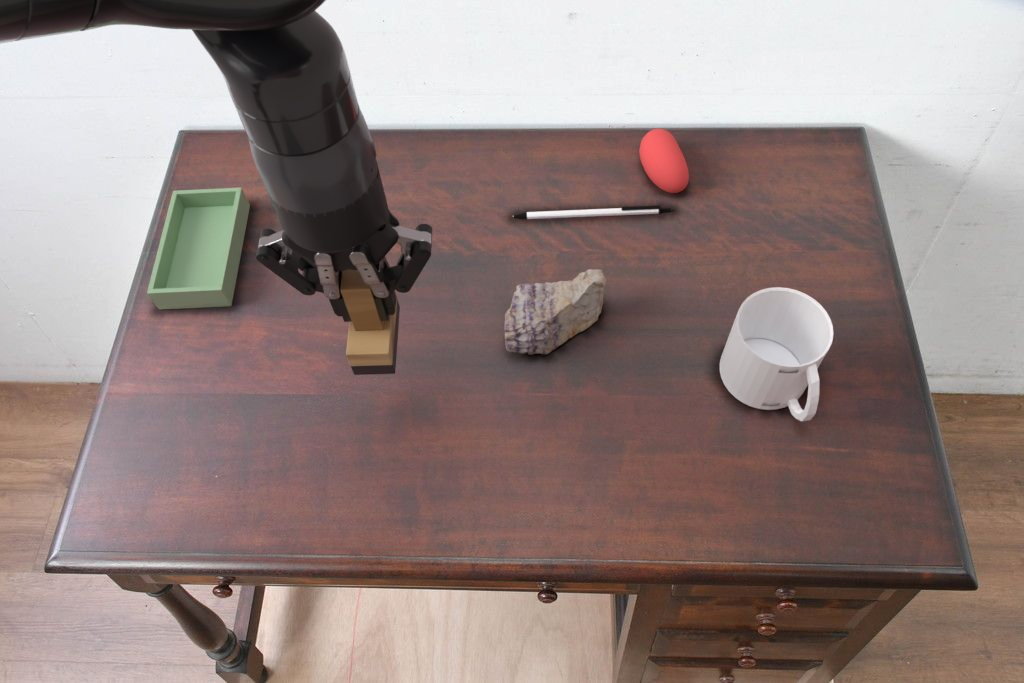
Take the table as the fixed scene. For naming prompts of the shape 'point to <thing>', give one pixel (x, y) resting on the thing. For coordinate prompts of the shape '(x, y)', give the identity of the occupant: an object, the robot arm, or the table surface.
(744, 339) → the mug
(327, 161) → the robot arm
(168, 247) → the tray
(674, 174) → the stress ball
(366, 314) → the scrub brush
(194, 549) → the table surface
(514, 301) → the mineral specimen
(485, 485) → the table surface
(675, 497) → the table surface
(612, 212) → the pen
